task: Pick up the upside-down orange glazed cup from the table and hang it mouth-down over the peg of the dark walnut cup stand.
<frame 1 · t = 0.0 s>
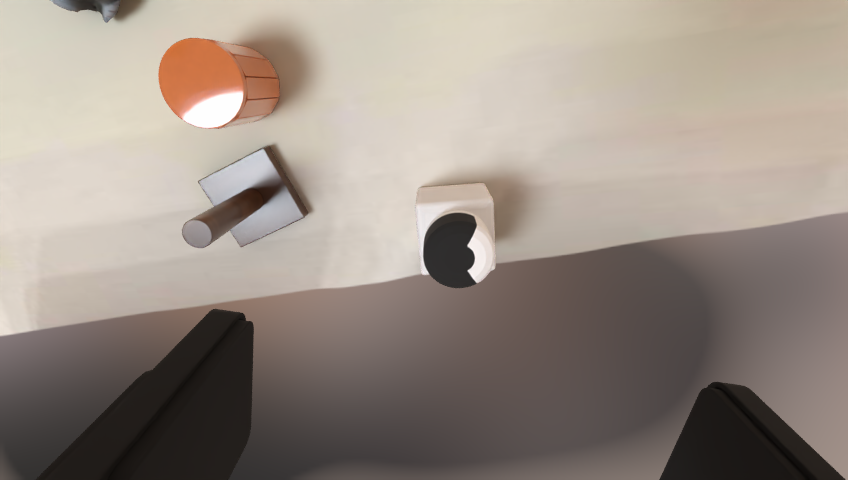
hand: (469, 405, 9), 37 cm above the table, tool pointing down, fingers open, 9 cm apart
stand: (257, 195, 46), on the table
cup: (244, 85, 42), on the table
medicine bottle: (452, 216, 47), on the table
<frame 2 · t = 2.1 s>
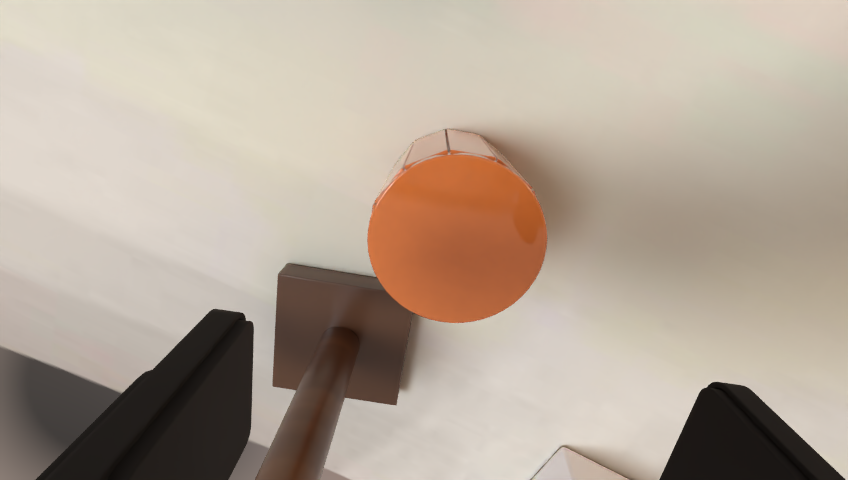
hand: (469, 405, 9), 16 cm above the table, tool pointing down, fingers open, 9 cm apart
stand: (345, 329, 27), on the table
cup: (450, 192, 24), on the table
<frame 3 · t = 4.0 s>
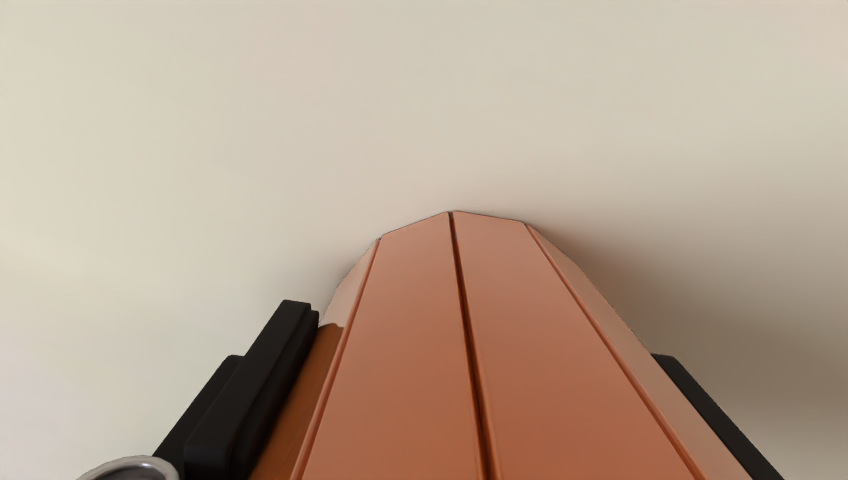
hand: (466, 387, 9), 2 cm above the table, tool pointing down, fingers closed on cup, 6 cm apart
cup: (461, 337, 11), on the table, touching gripper
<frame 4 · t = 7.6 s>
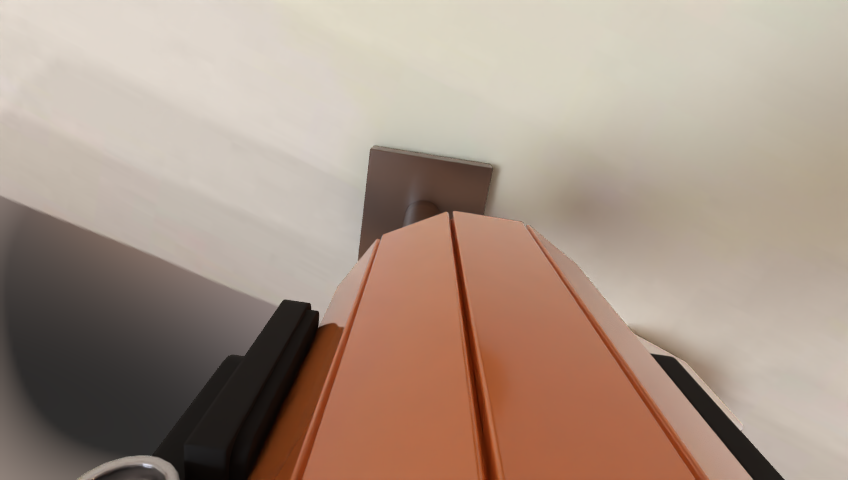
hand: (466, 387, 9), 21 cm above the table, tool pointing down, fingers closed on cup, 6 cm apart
stand: (423, 210, 30), on the table
cup: (461, 337, 11), point 19 cm above the table, touching gripper
medicine bottle: (621, 372, 35), on the table
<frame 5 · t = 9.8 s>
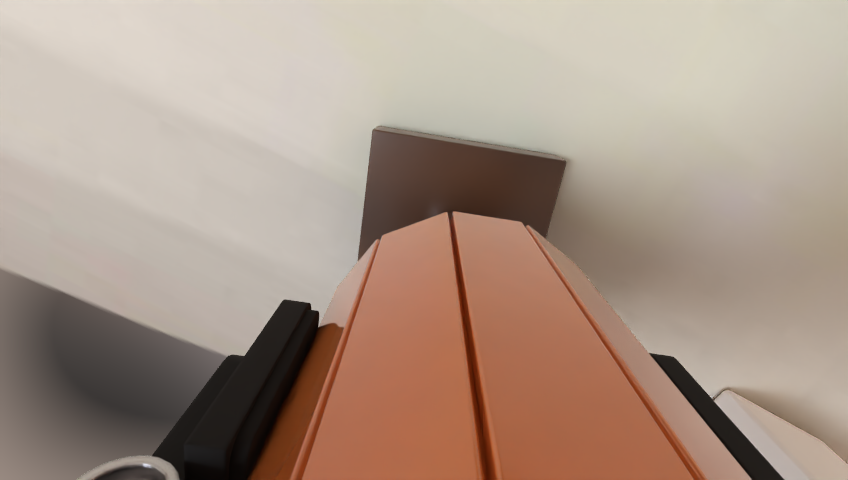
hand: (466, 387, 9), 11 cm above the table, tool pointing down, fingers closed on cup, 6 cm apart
stand: (451, 225, 20), on the table
cup: (461, 338, 11), point 9 cm above the table, touching gripper
medicine bottle: (725, 452, 25), on the table
when the fingers open (7 cm above the table, at t = 11.5 s): cup stays where it is, resting on stand.
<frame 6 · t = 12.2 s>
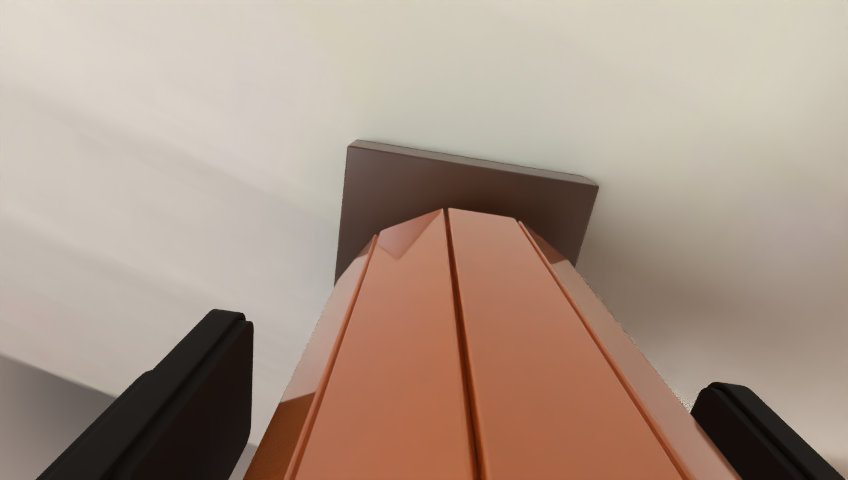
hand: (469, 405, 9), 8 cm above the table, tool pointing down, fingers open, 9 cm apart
stand: (450, 263, 16), on the table
cup: (456, 330, 12), point 5 cm above the table, touching stand
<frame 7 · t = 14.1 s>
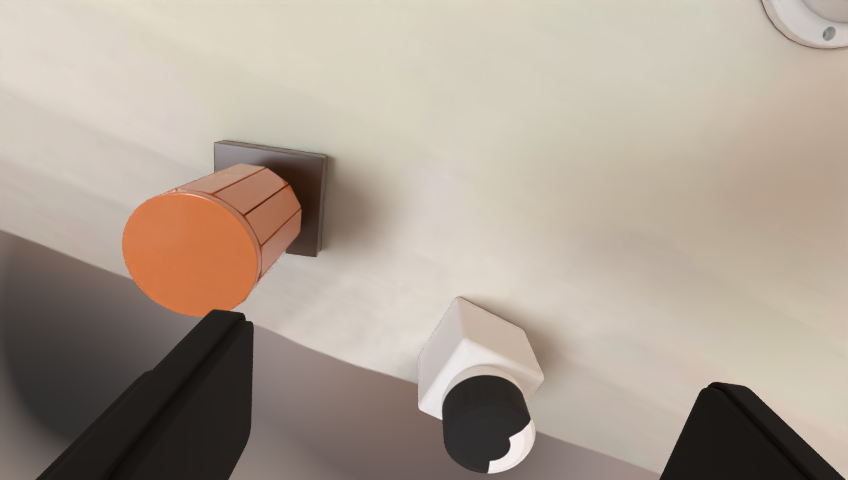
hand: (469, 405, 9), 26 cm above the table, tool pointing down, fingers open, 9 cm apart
stand: (274, 197, 34), on the table
cup: (252, 213, 30), point 5 cm above the table, touching stand
medicine bottle: (470, 341, 39), on the table
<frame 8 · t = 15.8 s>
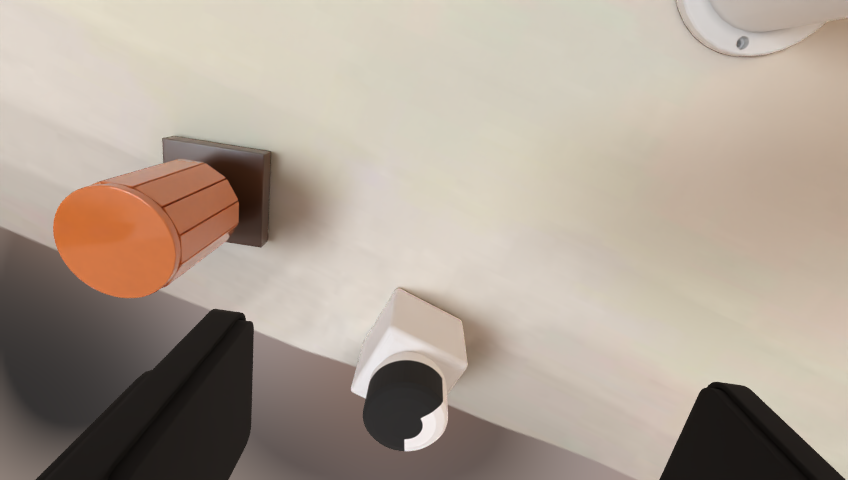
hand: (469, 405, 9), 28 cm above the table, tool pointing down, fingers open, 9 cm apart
stand: (222, 190, 37), on the table
cup: (193, 205, 32), point 5 cm above the table, touching stand
medicine bottle: (412, 330, 41), on the table
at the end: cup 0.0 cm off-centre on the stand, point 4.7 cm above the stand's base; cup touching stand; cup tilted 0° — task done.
